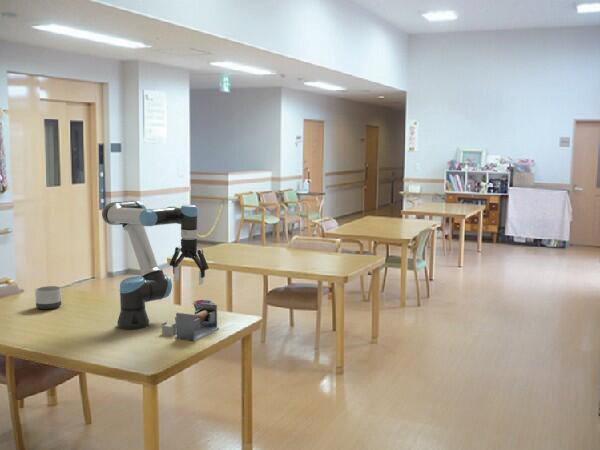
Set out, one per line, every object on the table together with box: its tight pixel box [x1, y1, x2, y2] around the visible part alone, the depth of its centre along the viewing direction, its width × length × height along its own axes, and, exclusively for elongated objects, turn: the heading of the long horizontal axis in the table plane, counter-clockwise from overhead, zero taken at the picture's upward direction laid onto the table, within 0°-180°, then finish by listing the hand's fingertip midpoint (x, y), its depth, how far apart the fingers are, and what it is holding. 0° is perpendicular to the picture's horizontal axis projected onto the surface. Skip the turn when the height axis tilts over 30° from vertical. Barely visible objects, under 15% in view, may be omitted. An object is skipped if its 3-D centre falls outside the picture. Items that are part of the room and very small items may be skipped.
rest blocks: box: [160, 316, 177, 336], centre depth 300 cm, size 6×14×5 cm, turn 157°
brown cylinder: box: [193, 310, 209, 322], centre depth 294 cm, size 15×4×4 cm, turn 157°
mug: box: [192, 299, 215, 312], centre depth 314 cm, size 12×9×11 cm
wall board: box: [174, 325, 220, 342], centre depth 295 cm, size 11×21×1 cm, turn 157°
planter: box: [34, 285, 62, 310], centre depth 342 cm, size 13×13×10 cm
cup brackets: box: [175, 303, 218, 342], centre depth 295 cm, size 9×21×12 cm, turn 157°
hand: (188, 282), depth 298 cm, fingers open, 13 cm apart
